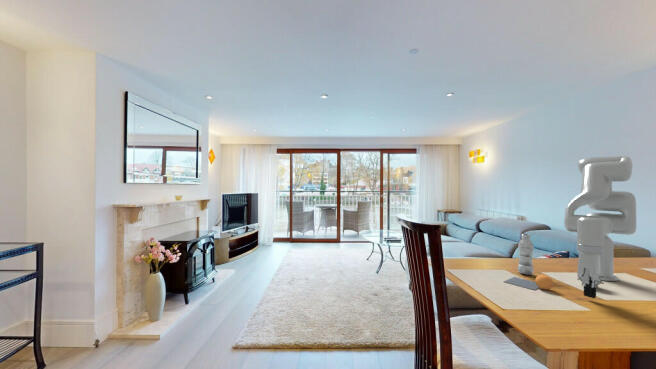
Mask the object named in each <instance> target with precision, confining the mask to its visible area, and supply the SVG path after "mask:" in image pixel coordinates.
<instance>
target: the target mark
mask: <svg viewBox="0 0 656 369" xmlns="http://www.w3.org/2000/svg"><path fill="white" fill-rule="evenodd" d="M505 282H507V283H506V284H509V283H510V284H511V285H513V284H514V285H513V286H518V287H521V288H525V289H528V290H532V291H537V290H538V289H541V288H540V287H538V286H537V284H536V282H535V281H534V280H529V279H525V278H520V277H517V276H513V277H510V278H509V279H506V280H504V281H503V283H505Z"/></svg>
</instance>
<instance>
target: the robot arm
mask: <svg viewBox="0 0 656 369" xmlns="http://www.w3.org/2000/svg"><path fill="white" fill-rule="evenodd" d="M577 167H578V170H579V172H580V174H582V176H581V189H580V193H579V194H578V195H576V196H575V197H574V198H572V199H571V200H569V202H568V204H567V205H566V208H565V212H564V223H563V224H564V228H565V229H566V230H567V232H570V233H576V253H578V260H577V272H576V274H577V279H578V278H581V277H583V276H584V284H583V296H584V297H588V298H592V299H596V297H597V287H596V279H598V278H599V277H600V276H603V277H601V281H606V282H618V281H619V277H618V276H616V275H614V272H615V270H614V269H615V268H614V262H615V261H614V257H615V255H614V250H615V249H614V248H615V247H614V246H615V244H614V242H613V240H612V238H611V237H609V236H608V235H609V234H616V235H623V236H624V235H627V236H630V235H633V234H634V233H636V230H637V200H636V196H635V194H633V193H632V192H630V191H624V190H623V191H618V190H617V191H616V190H613V182H628V181H629V180H630V178H631V177H632V172H633V160H632V159H631V158H630V157H629V156H628V155H627V156H625V155H621V156H618V155H617V156H598V157H597V156H596V157H588V158H582V159H580V160H579V161H578V164H577ZM583 206H588V207H589V209H591V210H593V211H603V212H589V213H587V214H585V215H584V214H575V212H576V211H577V210H578V209H580V208H581V207H583ZM604 211H605V212H604ZM606 212H607V213H606ZM609 212H619V213H609Z"/></svg>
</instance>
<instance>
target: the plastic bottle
mask: <svg viewBox="0 0 656 369" xmlns="http://www.w3.org/2000/svg"><path fill="white" fill-rule="evenodd" d="M520 238H521V239H520V240H519V241H518V243H517V244H518V245H517V247H518V254H519V255H518V256H519V257H518V264H517V271H518V272H519V273H520V274H523V275H527V276H531V275H533V274H534V272H535V271H534V265H533V254H534V253H533V252H534V248H535V247H534V244H533V242H532V241H531V234H529V233H521V236H520Z"/></svg>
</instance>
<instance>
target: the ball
mask: <svg viewBox="0 0 656 369" xmlns="http://www.w3.org/2000/svg"><path fill="white" fill-rule="evenodd" d="M534 282H536V284H537V286H538V287H540V288H539V289H542V290H550V289H551V288H553V287H554V281H553V279H552V278H551V277H550V276H548V275H547V274H540V275H538V276H536V277H535V281H534Z"/></svg>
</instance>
